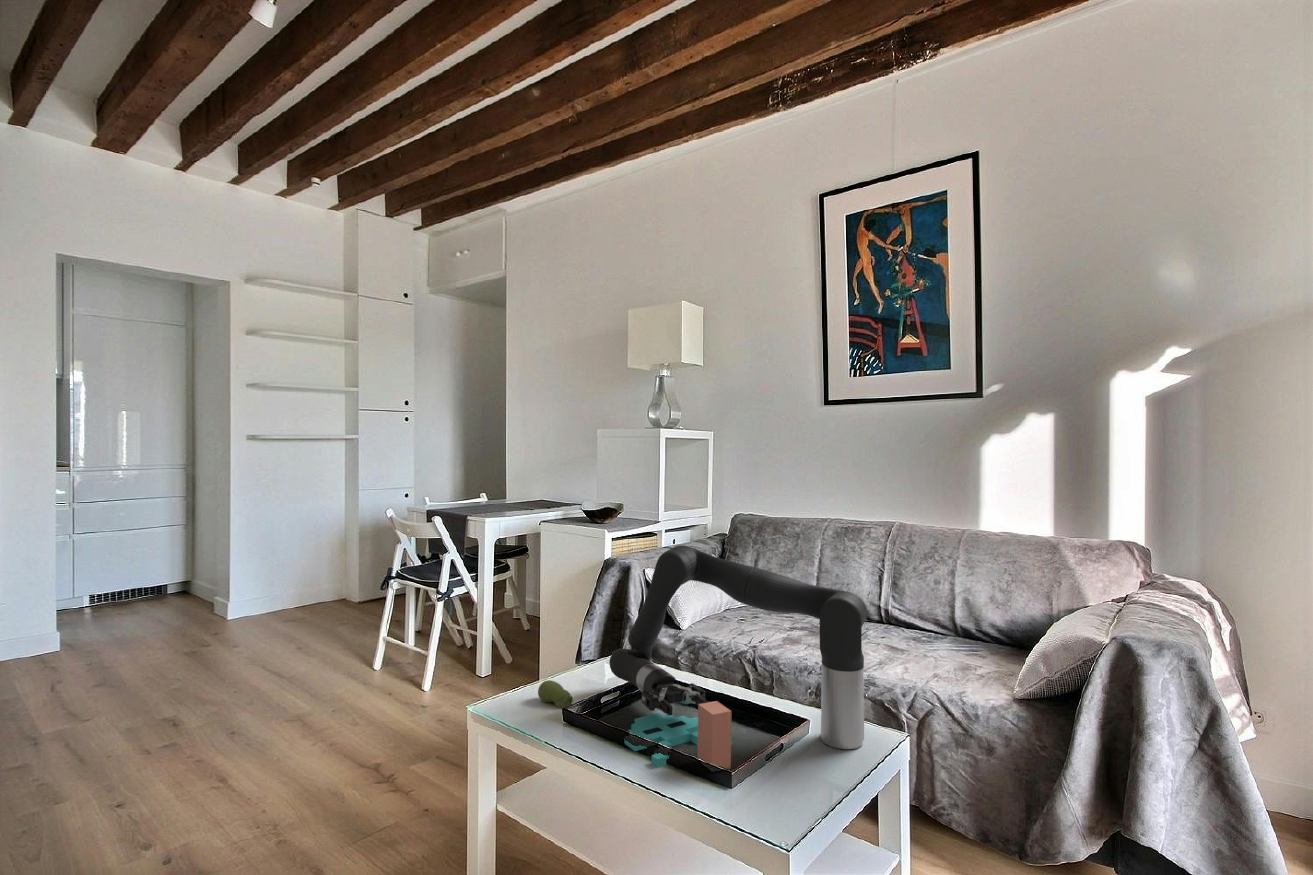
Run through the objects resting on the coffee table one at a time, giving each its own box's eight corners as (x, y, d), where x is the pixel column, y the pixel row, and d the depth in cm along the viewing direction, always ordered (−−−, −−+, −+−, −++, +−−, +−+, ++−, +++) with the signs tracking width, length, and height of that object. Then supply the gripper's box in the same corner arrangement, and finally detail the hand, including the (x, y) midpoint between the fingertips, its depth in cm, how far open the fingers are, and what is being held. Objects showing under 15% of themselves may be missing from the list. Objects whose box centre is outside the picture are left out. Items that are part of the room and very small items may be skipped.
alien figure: (732, 747, 155) (680, 716, 172) (732, 737, 155) (680, 707, 172) (657, 770, 144) (609, 734, 161) (657, 759, 144) (609, 725, 161)
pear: (550, 674, 183) (578, 689, 177) (547, 693, 183) (575, 709, 178) (535, 680, 178) (563, 695, 173) (532, 700, 179) (560, 716, 173)
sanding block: (715, 756, 150) (716, 700, 150) (730, 768, 144) (731, 710, 144) (697, 760, 148) (698, 704, 148) (711, 773, 142) (712, 714, 142)
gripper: (630, 672, 167) (660, 696, 153) (682, 664, 174) (716, 686, 159) (629, 703, 167) (659, 730, 153) (682, 694, 174) (715, 719, 159)
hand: (688, 708), depth 156 cm, fingers open, 8 cm apart
